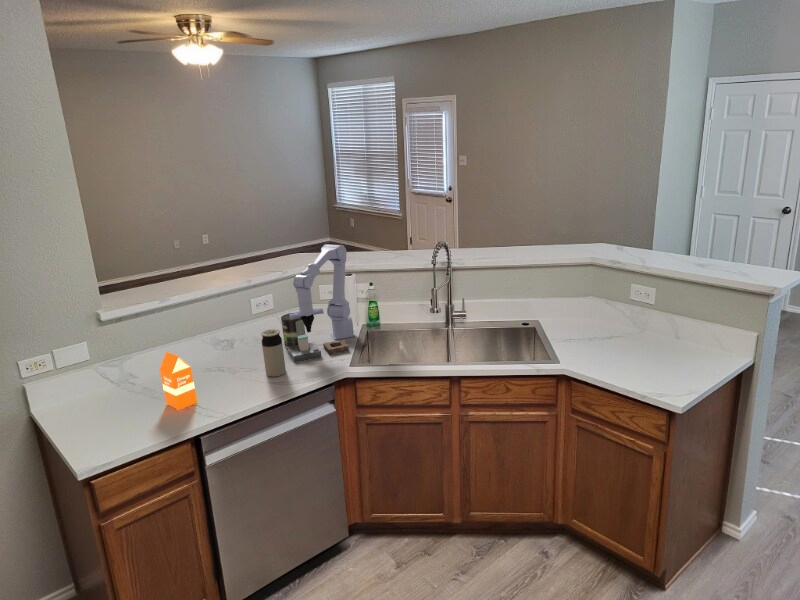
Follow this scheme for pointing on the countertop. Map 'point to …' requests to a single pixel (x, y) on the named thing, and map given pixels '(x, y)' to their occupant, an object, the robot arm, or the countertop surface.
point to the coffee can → (292, 330)
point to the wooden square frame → (335, 347)
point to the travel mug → (273, 353)
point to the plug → (303, 342)
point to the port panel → (304, 353)
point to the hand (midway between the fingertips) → (308, 331)
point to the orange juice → (177, 382)
